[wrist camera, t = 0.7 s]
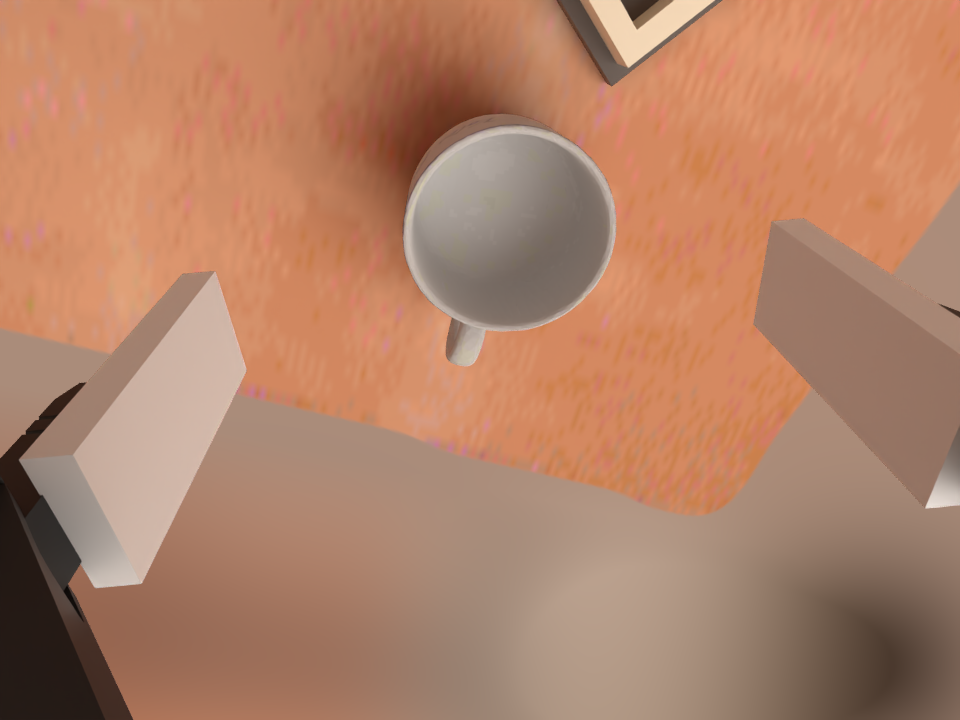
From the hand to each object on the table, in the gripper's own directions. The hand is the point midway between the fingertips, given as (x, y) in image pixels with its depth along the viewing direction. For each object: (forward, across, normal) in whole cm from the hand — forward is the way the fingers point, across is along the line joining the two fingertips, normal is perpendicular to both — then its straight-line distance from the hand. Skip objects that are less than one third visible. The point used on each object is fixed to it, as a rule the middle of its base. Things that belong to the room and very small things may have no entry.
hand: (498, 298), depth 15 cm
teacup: (+24, +1, -6) cm, 25 cm away
